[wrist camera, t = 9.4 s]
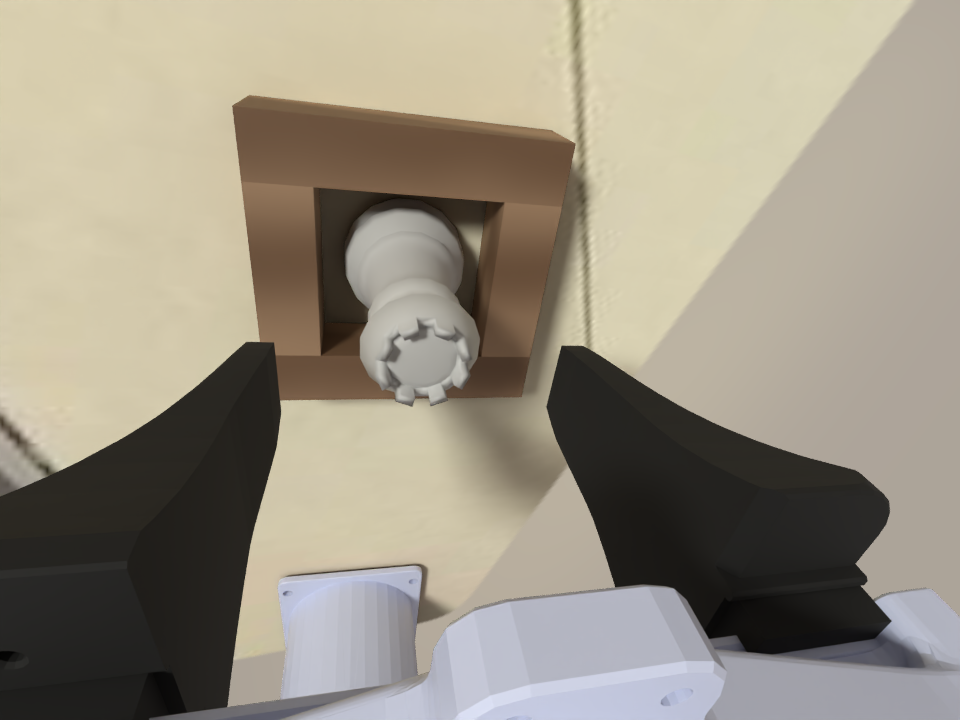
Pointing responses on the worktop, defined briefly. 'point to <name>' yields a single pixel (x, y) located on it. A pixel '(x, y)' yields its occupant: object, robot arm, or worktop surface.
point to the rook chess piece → (411, 300)
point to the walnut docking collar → (398, 170)
